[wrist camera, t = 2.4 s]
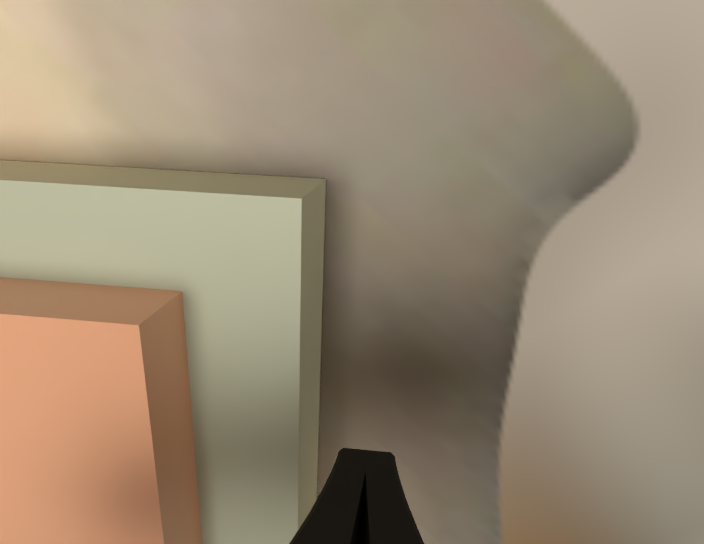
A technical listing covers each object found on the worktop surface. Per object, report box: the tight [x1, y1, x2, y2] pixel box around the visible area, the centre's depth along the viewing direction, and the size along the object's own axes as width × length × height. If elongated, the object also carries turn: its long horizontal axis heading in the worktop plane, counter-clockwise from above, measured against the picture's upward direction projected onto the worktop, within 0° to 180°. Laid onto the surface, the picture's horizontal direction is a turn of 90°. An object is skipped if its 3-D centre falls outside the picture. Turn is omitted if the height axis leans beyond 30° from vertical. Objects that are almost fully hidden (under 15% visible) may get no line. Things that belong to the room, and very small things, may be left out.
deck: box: [0, 160, 326, 544], centre depth 15 cm, size 20×12×4 cm, turn 177°
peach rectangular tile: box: [0, 277, 202, 544], centre depth 12 cm, size 9×6×2 cm, turn 177°
